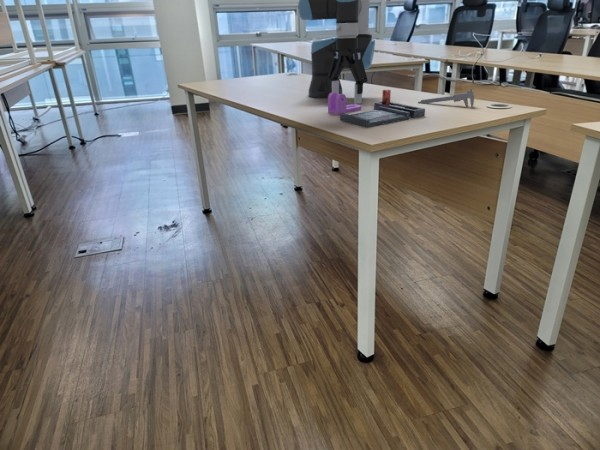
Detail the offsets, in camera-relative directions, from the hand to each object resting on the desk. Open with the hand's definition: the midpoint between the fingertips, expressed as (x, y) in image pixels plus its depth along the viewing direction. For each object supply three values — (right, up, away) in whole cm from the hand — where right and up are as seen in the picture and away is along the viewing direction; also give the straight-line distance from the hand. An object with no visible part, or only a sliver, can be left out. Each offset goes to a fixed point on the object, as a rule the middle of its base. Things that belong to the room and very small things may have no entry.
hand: (346, 101), depth 153 cm
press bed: (+8, -10, -13) cm, 18 cm away
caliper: (+37, 0, +5) cm, 38 cm away
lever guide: (+18, -5, -4) cm, 19 cm away
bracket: (0, -3, +2) cm, 4 cm away
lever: (+16, -3, -3) cm, 17 cm away
